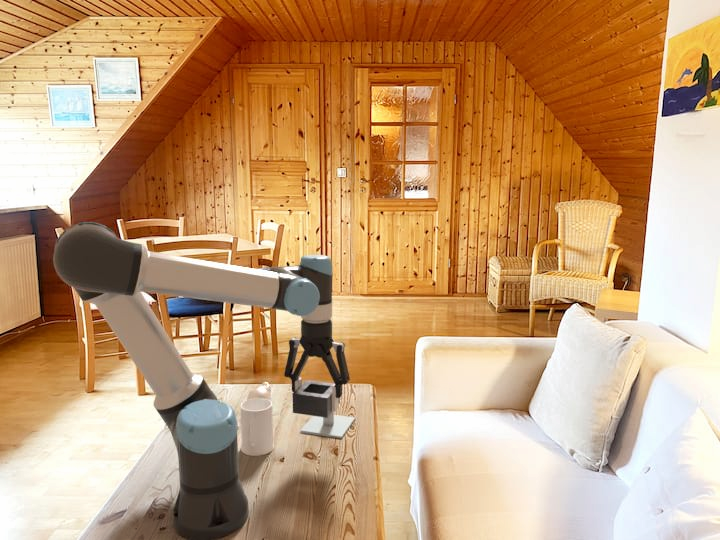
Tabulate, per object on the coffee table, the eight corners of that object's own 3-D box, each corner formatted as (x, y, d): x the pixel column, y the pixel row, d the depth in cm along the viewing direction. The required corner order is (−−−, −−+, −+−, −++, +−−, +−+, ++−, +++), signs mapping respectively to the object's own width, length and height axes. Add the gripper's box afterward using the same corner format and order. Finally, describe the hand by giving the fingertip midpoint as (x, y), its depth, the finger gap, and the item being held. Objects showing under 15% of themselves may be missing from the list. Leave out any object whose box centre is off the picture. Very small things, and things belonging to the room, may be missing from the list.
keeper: (341, 438, 147) (341, 417, 145) (300, 432, 150) (300, 411, 149) (355, 419, 158) (355, 399, 157) (316, 414, 161) (316, 394, 160)
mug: (263, 464, 134) (261, 418, 131) (230, 461, 135) (228, 415, 133) (278, 441, 145) (277, 399, 143) (248, 438, 146) (246, 396, 144)
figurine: (267, 371, 174) (261, 380, 159) (284, 387, 174) (279, 397, 159) (244, 394, 173) (235, 405, 158) (260, 411, 174) (253, 423, 159)
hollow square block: (327, 417, 130) (327, 398, 129) (292, 412, 133) (292, 393, 132) (339, 402, 139) (339, 384, 138) (306, 398, 141) (306, 380, 140)
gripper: (364, 319, 132) (362, 406, 136) (281, 311, 138) (283, 395, 142) (354, 327, 125) (353, 419, 129) (268, 319, 131) (270, 407, 135)
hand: (316, 406), depth 136 cm, fingers closed on hollow square block, 9 cm apart
